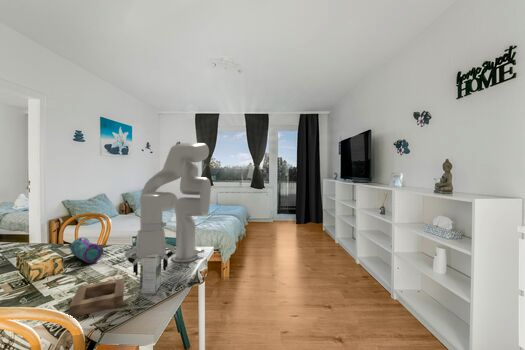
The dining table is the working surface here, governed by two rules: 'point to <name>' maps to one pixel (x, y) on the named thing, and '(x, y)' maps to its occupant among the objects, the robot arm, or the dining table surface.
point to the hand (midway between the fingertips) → (150, 271)
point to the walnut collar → (99, 303)
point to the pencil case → (86, 250)
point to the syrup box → (150, 274)
